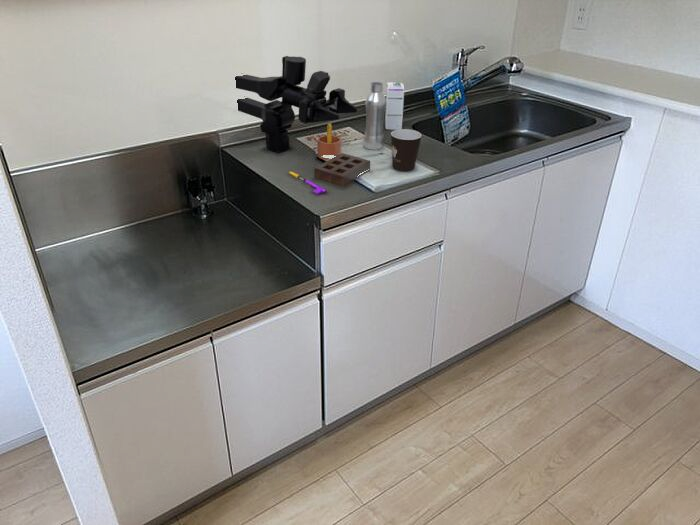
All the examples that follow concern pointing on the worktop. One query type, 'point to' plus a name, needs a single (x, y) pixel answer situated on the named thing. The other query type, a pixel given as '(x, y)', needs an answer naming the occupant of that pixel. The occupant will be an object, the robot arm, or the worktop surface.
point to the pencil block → (342, 169)
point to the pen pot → (329, 146)
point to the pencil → (329, 133)
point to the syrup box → (394, 105)
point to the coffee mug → (404, 149)
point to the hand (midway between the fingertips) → (347, 113)
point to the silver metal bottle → (374, 117)
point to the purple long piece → (311, 184)
